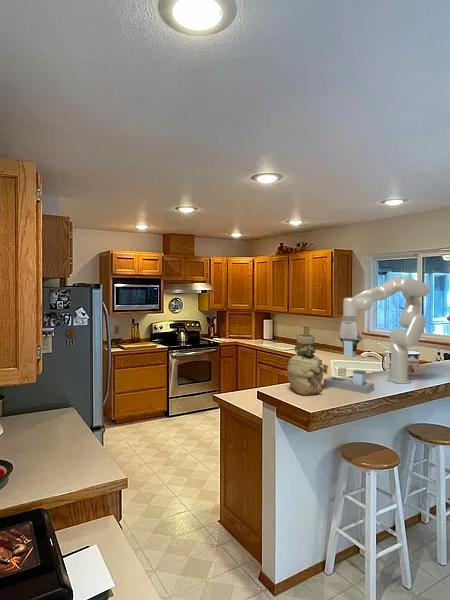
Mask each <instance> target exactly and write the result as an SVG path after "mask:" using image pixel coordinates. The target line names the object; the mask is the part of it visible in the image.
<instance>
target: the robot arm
mask: <svg viewBox="0 0 450 600" xmlns="http://www.w3.org/2000/svg"><path fill="white" fill-rule="evenodd" d="M399 292H401V293H402V294H403V296H404V300H405V304H404V308H403V309H402V312H401V314H400V316H399V319H398V324H399V326H401V327H402V328H394V329H392V330H391V331H390V333H389V343H390V365H389V366H390V370H389V371H390V372H389V376H388V377H386V378H387V379H386V381H388V382H391V383H394V384H410V382H411V380H410V379H409V378H408V374H407V373H408V358H409V349H408V348H410V347H412V348H413V347H415V346H417V345H418V343H419V341H420V339H421V336H422V335H423V332H424V330H425V328H426V323H427V321H426V318H425V316H424V315H423V314H422V313H419V312H420V310H421V305H422V303H421V301H420V298H424V297H426V296H428V295H429V292H430V288H429V286H428V284H426V283H425V282H422V281H421V280H420V281H419V280H417V279H414V278H410V277H408V276H396V277H393V278H391V279H389V280H387V281H385V282H383V283H381V284H379V285H378V286H375V287H372V288H370V289H366V290H364V291H362V292H360V293H358V294H356V295H355V296H352V297H345V298H344V299H343V302H342V304H343V307H342V308H343V311H342V313H343V314H342V316H341V318H340V319H341V320H342V321H341V322H340V328H339V329H340V330H339V331H340V332H339V334H338V335H337V339H339V341H341V343H342V349H343V351H344V339H353V342H354V344H353V351H356V352H357V350H358V344H359V343H360V342H361V341H363V340H364V339H363V337H362V336H361V334H360V324H359V321H358V310H359V311H368V310H370V309H371V308H372V306H373V302H379V301H383V300H386V299H388V298H390V297H392V296H393V295H395V294H397V293H399Z"/></svg>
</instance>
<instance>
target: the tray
mask: <svg viewBox="0 0 450 600" xmlns="http://www.w3.org/2000/svg"><path fill="white" fill-rule="evenodd" d="M339 378H345V379H351V380H353V377H348V376H347V377H345V376H339Z"/></svg>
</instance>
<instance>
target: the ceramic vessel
mask: <svg viewBox="0 0 450 600" xmlns="http://www.w3.org/2000/svg"><path fill="white" fill-rule="evenodd" d="M295 338H296V343H297V344H296V345H294V352H295V353H296V354H294V355H293V356H292V357H291V358H290V359H289V360H288V363H287V371H286V372H287V378H288V382H289V386H290V388H291V389H292V391H293V392H294V393H296V394H297V395H300V396H316V395H317V396H319V395H321V394H322V392H323V388H322V382H323V381H324V374H325V375H328V368H329V365H328V364H323V362H322V360H321V359H320V358H319V357H318V356H316V354H315V353H316V346H315V345H314V344H315V339H316V335H314V334H304V333H303V334H296V335H295Z"/></svg>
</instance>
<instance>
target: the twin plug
mask: <svg viewBox="0 0 450 600" xmlns="http://www.w3.org/2000/svg"><path fill="white" fill-rule="evenodd" d="M352 378H353V384H357V385H365V384H366V382H367V370H360V369H356V370H353V371H352Z"/></svg>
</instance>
